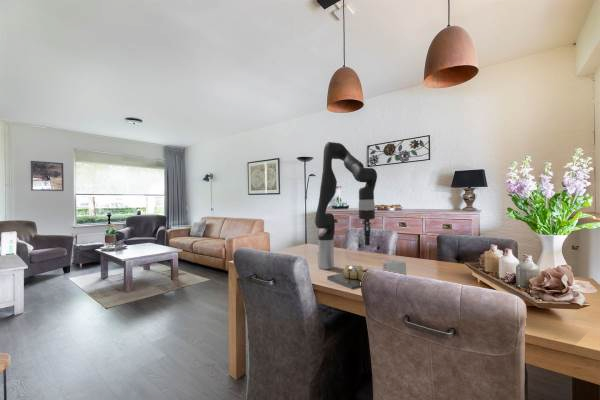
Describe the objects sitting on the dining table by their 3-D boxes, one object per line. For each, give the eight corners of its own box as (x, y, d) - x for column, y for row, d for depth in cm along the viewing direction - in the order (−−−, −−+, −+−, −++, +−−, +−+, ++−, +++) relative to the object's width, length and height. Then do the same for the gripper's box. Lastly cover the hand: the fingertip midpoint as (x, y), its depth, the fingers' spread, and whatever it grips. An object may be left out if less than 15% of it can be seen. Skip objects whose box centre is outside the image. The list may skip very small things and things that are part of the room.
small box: (407, 291, 115) (406, 261, 115) (399, 295, 111) (398, 264, 111) (390, 287, 121) (389, 259, 121) (382, 290, 117) (382, 261, 117)
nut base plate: (327, 279, 135) (327, 266, 135) (351, 273, 144) (351, 262, 144) (351, 288, 120) (350, 274, 120) (376, 282, 129) (376, 269, 129)
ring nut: (339, 275, 136) (339, 266, 136) (354, 271, 141) (353, 263, 141) (365, 284, 120) (365, 274, 120) (380, 280, 126) (380, 271, 126)
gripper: (358, 208, 133) (359, 242, 133) (358, 209, 120) (359, 247, 120) (374, 208, 132) (374, 243, 131) (375, 209, 119) (376, 247, 118)
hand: (367, 244), depth 126 cm, fingers closed
